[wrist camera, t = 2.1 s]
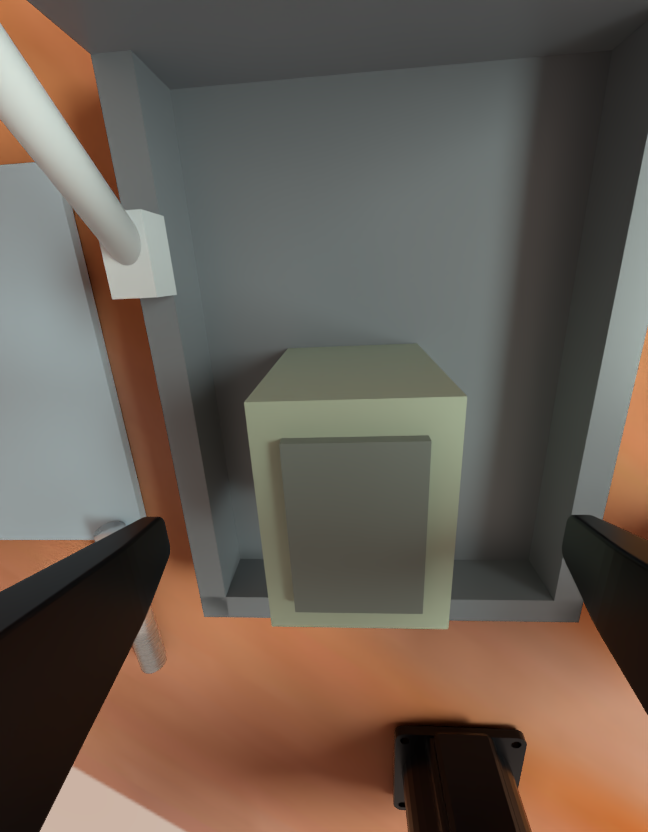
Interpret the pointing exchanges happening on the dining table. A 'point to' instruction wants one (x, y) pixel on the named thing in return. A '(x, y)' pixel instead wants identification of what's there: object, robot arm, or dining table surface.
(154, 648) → the rod
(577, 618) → the equipment case
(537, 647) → the dining table surface
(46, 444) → the blue-grey flat plate
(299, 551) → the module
